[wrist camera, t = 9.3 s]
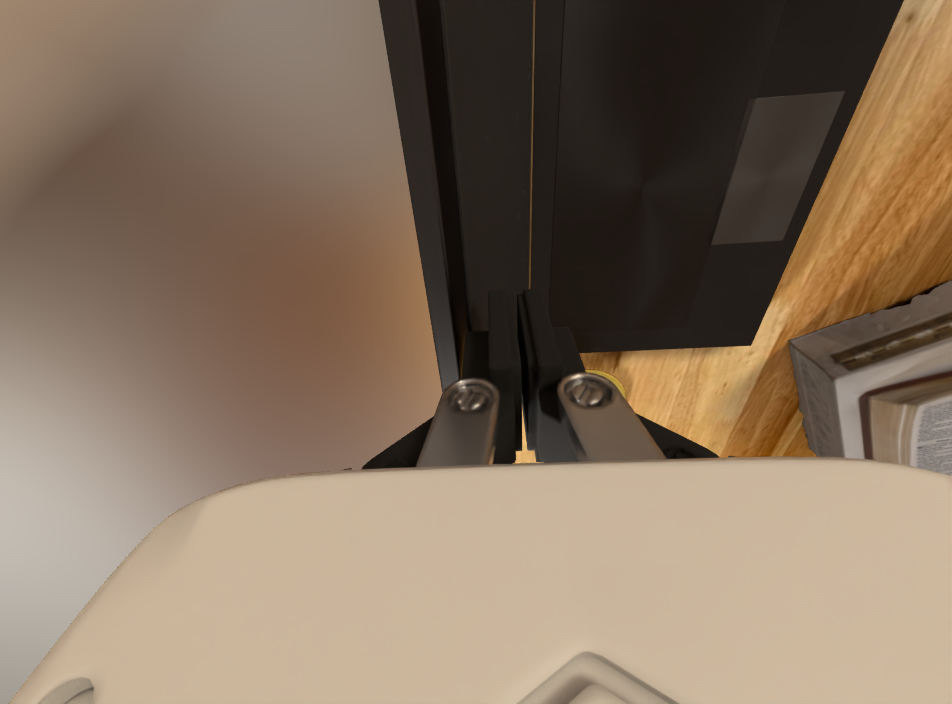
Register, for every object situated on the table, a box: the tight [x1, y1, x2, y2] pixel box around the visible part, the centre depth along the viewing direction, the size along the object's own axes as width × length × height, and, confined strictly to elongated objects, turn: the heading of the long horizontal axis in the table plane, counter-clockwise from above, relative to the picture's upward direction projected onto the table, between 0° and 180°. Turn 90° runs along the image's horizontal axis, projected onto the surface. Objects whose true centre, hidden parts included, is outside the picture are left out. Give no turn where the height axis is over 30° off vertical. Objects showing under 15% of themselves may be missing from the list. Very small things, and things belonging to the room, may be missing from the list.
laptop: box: [529, 0, 904, 353], centre depth 27 cm, size 21×30×2 cm
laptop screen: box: [379, 0, 534, 392], centre depth 19 cm, size 21×30×1 cm
